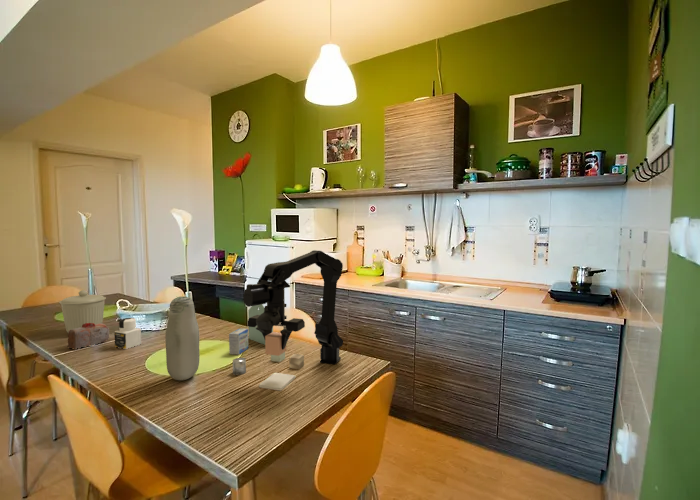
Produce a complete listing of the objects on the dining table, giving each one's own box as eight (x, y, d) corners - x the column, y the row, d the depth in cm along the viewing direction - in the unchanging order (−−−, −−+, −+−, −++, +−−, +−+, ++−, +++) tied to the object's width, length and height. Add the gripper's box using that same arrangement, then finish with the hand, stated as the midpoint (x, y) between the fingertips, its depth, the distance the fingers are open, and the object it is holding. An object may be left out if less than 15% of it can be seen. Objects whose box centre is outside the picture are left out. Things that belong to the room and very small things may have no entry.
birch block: (303, 365, 127) (303, 354, 127) (299, 369, 123) (299, 358, 123) (294, 364, 128) (294, 353, 128) (289, 368, 124) (289, 357, 124)
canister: (85, 326, 177) (83, 286, 176) (116, 328, 174) (114, 287, 173) (50, 337, 159) (48, 293, 158) (84, 339, 156) (82, 294, 155)
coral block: (286, 350, 114) (286, 333, 114) (278, 355, 110) (278, 337, 109) (273, 349, 116) (273, 331, 116) (265, 354, 111) (265, 336, 111)
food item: (100, 339, 157) (100, 318, 156) (111, 341, 153) (110, 320, 153) (66, 348, 144) (65, 325, 144) (76, 351, 141) (75, 328, 140)
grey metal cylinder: (248, 370, 122) (248, 358, 121) (241, 375, 117) (240, 363, 117) (237, 369, 123) (237, 357, 123) (230, 374, 119) (230, 361, 118)
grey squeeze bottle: (168, 375, 118) (166, 295, 116) (200, 370, 122) (198, 293, 120) (165, 387, 109) (162, 300, 107) (199, 381, 113) (198, 298, 111)
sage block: (285, 358, 134) (285, 348, 133) (280, 362, 130) (280, 351, 130) (276, 357, 135) (276, 347, 135) (270, 360, 131) (270, 350, 131)
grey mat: (295, 377, 116) (295, 375, 116) (281, 390, 106) (281, 388, 106) (274, 374, 118) (274, 372, 118) (258, 387, 109) (258, 384, 109)
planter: (284, 342, 153) (283, 299, 152) (269, 346, 147) (269, 301, 146) (262, 334, 164) (262, 294, 163) (248, 338, 158) (247, 296, 157)
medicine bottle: (114, 347, 146) (113, 319, 145) (130, 342, 152) (129, 316, 152) (125, 349, 143) (124, 321, 142) (141, 344, 149) (140, 317, 149)
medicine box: (239, 355, 137) (238, 334, 136) (228, 354, 138) (228, 333, 137) (248, 348, 145) (248, 328, 144) (239, 347, 146) (238, 328, 145)
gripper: (236, 304, 107) (237, 353, 108) (289, 309, 101) (289, 360, 102) (256, 298, 118) (257, 342, 119) (305, 302, 112) (305, 348, 113)
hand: (276, 348), depth 113 cm, fingers closed on coral block, 5 cm apart
